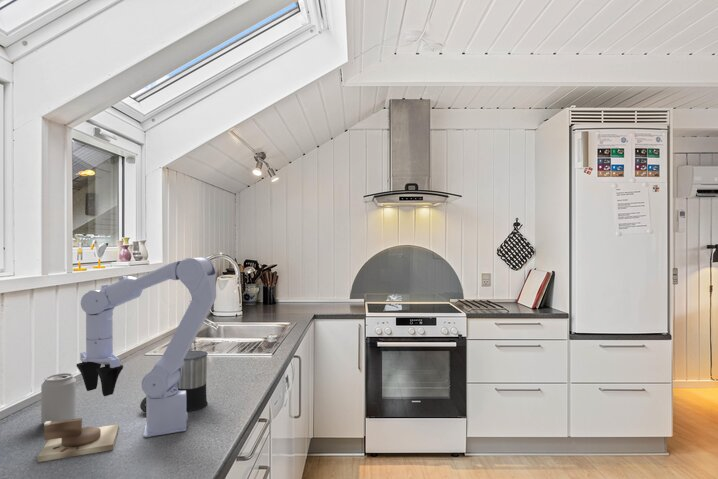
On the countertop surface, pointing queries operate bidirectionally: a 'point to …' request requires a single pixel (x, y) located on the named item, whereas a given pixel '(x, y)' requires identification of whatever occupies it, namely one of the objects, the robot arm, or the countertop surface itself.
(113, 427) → the dial plate
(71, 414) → the can
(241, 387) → the countertop surface
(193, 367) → the milk frother
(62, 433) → the dial
